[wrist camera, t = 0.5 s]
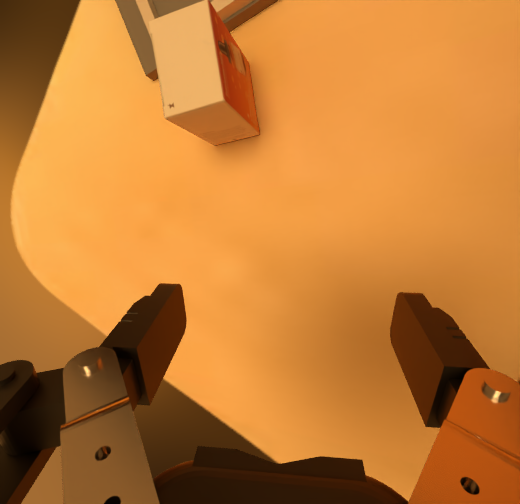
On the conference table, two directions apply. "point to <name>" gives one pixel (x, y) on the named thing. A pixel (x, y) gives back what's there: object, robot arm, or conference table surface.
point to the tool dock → (162, 3)
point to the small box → (203, 75)
